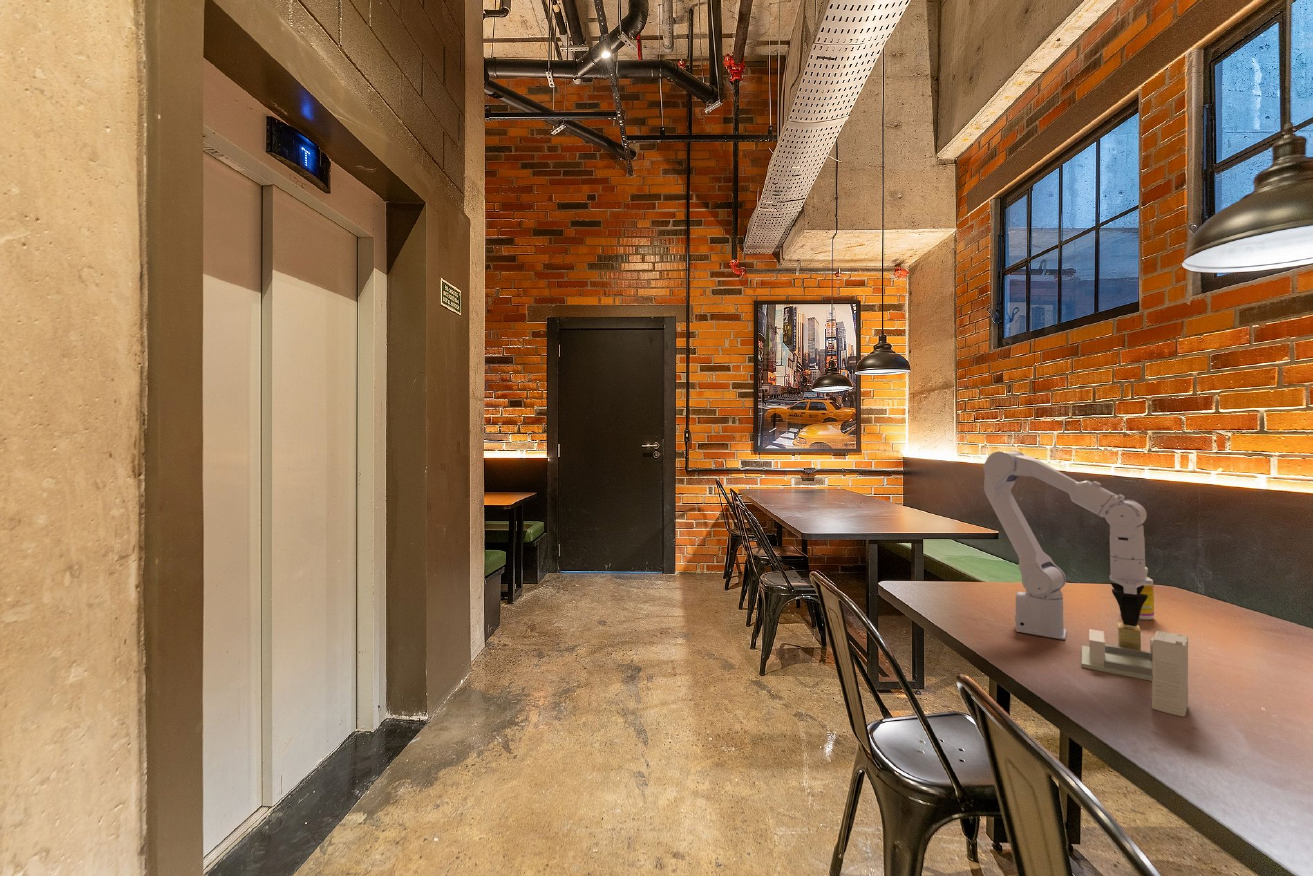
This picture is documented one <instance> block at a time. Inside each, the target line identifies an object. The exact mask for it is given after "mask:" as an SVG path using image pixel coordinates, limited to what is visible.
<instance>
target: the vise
mask: <svg viewBox="0 0 1313 876" xmlns="http://www.w3.org/2000/svg"><path fill="white" fill-rule="evenodd" d="M1088 630H1089V631H1088V632H1089V633H1088V639H1089V640H1088V641H1089V646H1086V645H1081V668H1084V669H1089V670H1093V671H1099V672H1103V673H1109V674H1114V675H1118V676H1125V677H1130V678H1135V679H1141V680H1146V681H1151V682H1152V662H1151V653H1150V651H1146V650H1142V649H1141V650H1135V649H1129V648H1123V647H1118V645H1117V646H1115V645H1110V644H1106V640H1105V631H1103V630H1096V629H1091V628H1090V629H1088Z"/></svg>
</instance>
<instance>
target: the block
mask: <svg viewBox="0 0 1313 876" xmlns="http://www.w3.org/2000/svg"><path fill="white" fill-rule="evenodd" d="M1141 636H1142V635H1141V628H1140V625H1138V624H1137V626H1130V625H1124V623H1123V622H1117V647H1123V648H1129V649H1135V650H1141V651H1142V646H1141V645H1142V642H1141V641H1142V640H1141V639H1142V638H1141Z"/></svg>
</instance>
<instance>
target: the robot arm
mask: <svg viewBox="0 0 1313 876" xmlns="http://www.w3.org/2000/svg"><path fill="white" fill-rule="evenodd" d="M982 468H983V471H984V483H983V491H984V494H985V496H986V497H987V500H988V501H989V504H990V505H991V507H992V509H993V511H994V513H995V515H996V516H997V519H998V520H999V523H1000V524H1001V527H1002V528H1003V531H1004V532H1005V535H1007V537H1008V539H1009V541H1010V543H1011V545H1012V547H1013V549H1014V551H1015V553H1016V554H1017V557H1018V559H1019V560H1018V569H1019V571H1020V574H1021V584H1022V587H1023V588H1024V590H1025V591H1016V594H1015V615H1014V622H1015V632H1016V633H1017V632H1018V633H1022V634H1029V635H1032V636H1033V635H1034V636H1040V637H1046V638H1051V639H1058V640H1063V641H1064V640H1066V637H1067V629H1066V628H1064V594H1063V593H1062V590H1061V589H1062V588H1064V586H1065V585H1066V582H1067V577H1066V573H1065V572H1064V571H1063V570H1062V569H1061V568H1060V567H1059V566H1057V564H1055V562H1054V561H1053V559H1052V557H1050V555H1048V554H1046V553H1045V552H1044V550H1043V549H1042V547H1041V545H1040V543H1039V542H1038V540H1037V537H1036V536H1035V534H1034V532H1033V530H1032V528H1031V526H1030V525H1029V522H1028V521H1027V519H1026V517H1025V515H1024V513H1023V512H1022V510H1021V509H1020V507H1019V505H1018V503H1017V501H1016V499H1015V497H1014V495H1013V494H1012V489H1013V487H1014V485H1015V483H1016V482H1017V480H1018V479H1019V478H1020V477H1034V478H1035V479H1037V480H1040V481H1043V482H1044V483H1046V484H1048V485H1050V486H1053V487H1055V488H1056V489H1059V490H1061V491H1063V492H1065V493H1067V494H1068V495H1069V497H1070V500H1071V502H1073V503H1074V504H1076V505H1078V506H1080V507H1082V508H1084V509H1086V510H1088V511H1089V512H1091V513H1093V514H1095V515H1097V516H1099V517H1100V518H1105V521H1106V522H1107V523H1108V524H1109V533H1110V534H1109V559H1110V561H1109V563H1110V575H1109V577H1108V578H1109V580H1110V585H1111V586H1112V588H1111V594H1112V595H1113V596H1114V598H1115V600H1116V602H1117V604H1118V607H1119V608H1118V609H1119V612H1121V613H1120V615H1121V621H1122V623H1124V625H1130V626H1137V625H1138V624H1139V621H1140V619H1139V616H1140V612H1141V608H1142V606H1143V604H1144V602H1145V601H1146V600H1147V598H1148V595H1147V594H1140V593H1141V591H1142V590H1143V588H1144V585H1145V584H1153V585H1154V580H1153V579H1151V578H1150V579H1146V574H1145V567H1146V547H1145V546H1146V545H1145V544H1146V543H1145V540H1146V539H1145V536H1144V534H1145V533H1144V532H1145V530H1144V525H1143V524H1144V522H1146V519H1147V517H1148V516H1147V511H1146V509H1145V507H1144V506H1143V505H1141V504H1140V503H1139V502H1138V501H1137V500H1132V499H1125V498H1126V497H1125V496H1124V495H1123V494H1121V493H1119V494H1117V493H1114V492H1111V491H1110V490H1108V489H1106V488H1104V487H1102V484H1101V483H1100V482H1098V481H1090V480H1083V481H1077V480H1076V479H1073V478H1072V477H1071V476H1067V475H1066V474H1064V473H1063V472H1061V471H1059V470H1057V469H1055V468H1053V467H1051V466H1050V465H1049V464H1046V463H1045V462H1043V461H1041V460H1039V459H1036V458H1035V457H1034V456H1031V455H1028V454H1024V453H1023V452H1020V451H1019V450H1009V451H999V450H998V451H995V452H992V453H991V454H989V455H988V457H987V458H986V460H985V462H984V463H983V466H982Z"/></svg>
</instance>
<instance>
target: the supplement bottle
mask: <svg viewBox="0 0 1313 876" xmlns="http://www.w3.org/2000/svg"><path fill="white" fill-rule="evenodd" d="M1148 573H1149V568H1148V567H1147V566H1145V574H1146V579H1151V578H1150V577H1148ZM1140 594H1147V595H1148V598H1147V600H1146V601H1145V602H1144V604H1143V606H1142V608H1141V612H1140V616H1139V620H1144V621H1148V620H1150V621H1151V620H1153V619H1154V618H1155V604H1154V603H1155V602H1154V601H1155V600H1154V597H1155V596H1154V594H1155V593H1154V583H1153V584H1145V585H1144V588H1143V590H1142V591H1141V593H1140ZM1119 612H1120V611H1119ZM1120 614H1121V612H1120Z"/></svg>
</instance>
